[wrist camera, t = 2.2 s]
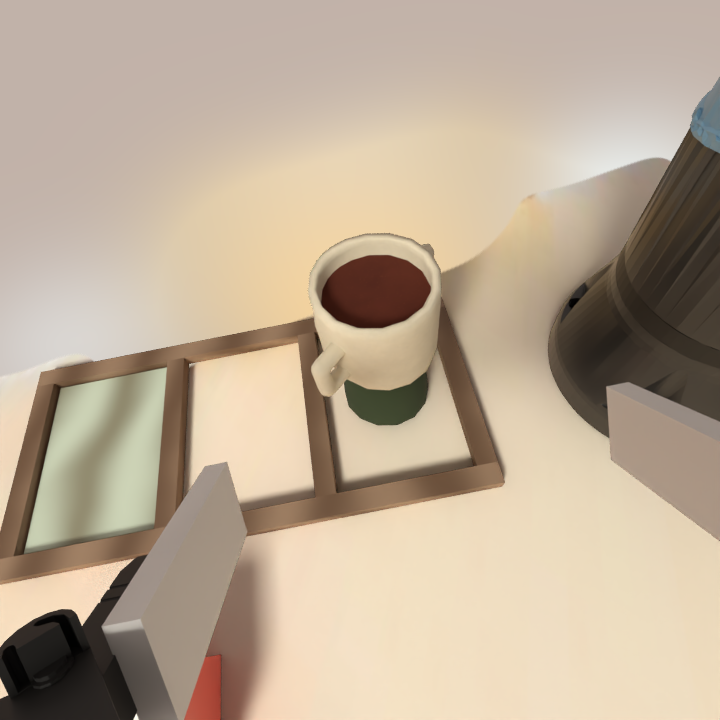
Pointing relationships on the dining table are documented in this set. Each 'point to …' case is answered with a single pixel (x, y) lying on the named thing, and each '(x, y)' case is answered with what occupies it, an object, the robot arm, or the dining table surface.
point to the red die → (206, 692)
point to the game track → (180, 455)
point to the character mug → (376, 323)
